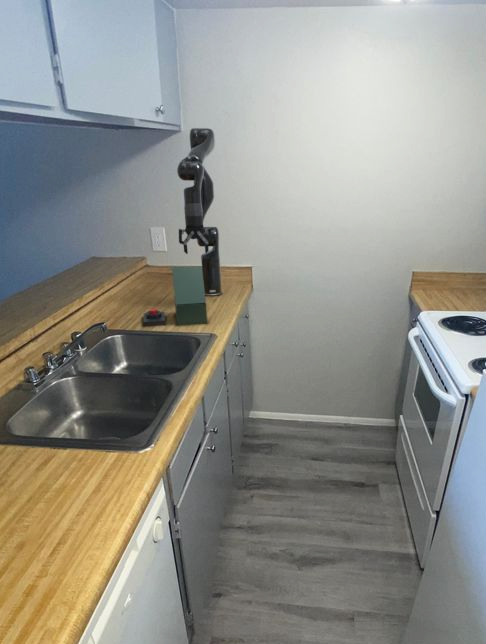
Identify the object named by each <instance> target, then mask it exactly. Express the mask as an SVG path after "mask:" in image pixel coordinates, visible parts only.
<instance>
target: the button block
mask: <svg viewBox="0 0 486 644" xmlns="http://www.w3.org/2000/svg"><path fill="white" fill-rule="evenodd" d="M165 315H166V314H165V311H161V310H158V313H157V314H149V310H148V311H146V312H143V317H142V318H143V323H142V324H143V327H144V328H145V327H146V328H147V327H156V326H158V327H159V326H166V316H165Z"/></svg>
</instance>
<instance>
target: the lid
mask: <svg viewBox="0 0 486 644" xmlns="http://www.w3.org/2000/svg"><path fill="white" fill-rule="evenodd" d="M171 272H172V282H173V283H172V284H173V291H174V296H175V298H174V302H175V301H176V305H186V304H202V303H206V304H207V301H206V300H207V299H206V295H205V291H204V282H203V274H202V265H194V266H192V265H191V266H174V267H173V266H172V267H171Z"/></svg>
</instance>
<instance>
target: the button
mask: <svg viewBox="0 0 486 644" xmlns="http://www.w3.org/2000/svg"><path fill="white" fill-rule="evenodd" d="M148 311H149V314H157V313H158V311H159V310H158V309H157V308H150V309H148Z"/></svg>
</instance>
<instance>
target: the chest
mask: <svg viewBox="0 0 486 644" xmlns="http://www.w3.org/2000/svg"><path fill="white" fill-rule="evenodd" d="M173 298H174V299H175V295H174V297H173ZM174 308H175V317H176V322H177V326H191V325H193V326H194V325H205V324H206V325H207V324H208V315H207V302H206V303H202V304H186V305H176V301H175V300H174Z"/></svg>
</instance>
